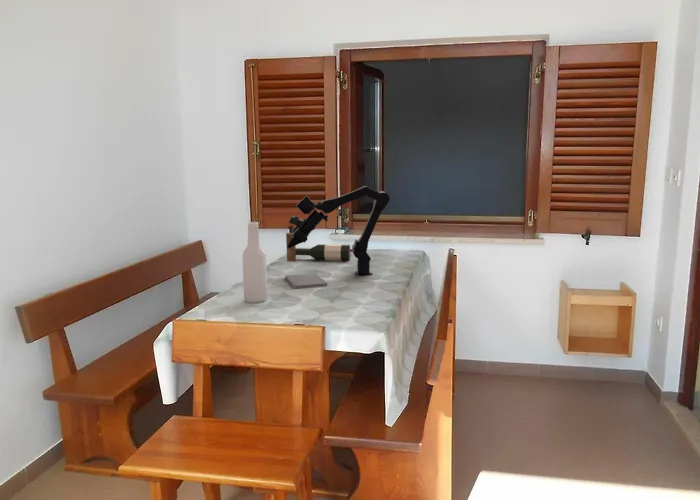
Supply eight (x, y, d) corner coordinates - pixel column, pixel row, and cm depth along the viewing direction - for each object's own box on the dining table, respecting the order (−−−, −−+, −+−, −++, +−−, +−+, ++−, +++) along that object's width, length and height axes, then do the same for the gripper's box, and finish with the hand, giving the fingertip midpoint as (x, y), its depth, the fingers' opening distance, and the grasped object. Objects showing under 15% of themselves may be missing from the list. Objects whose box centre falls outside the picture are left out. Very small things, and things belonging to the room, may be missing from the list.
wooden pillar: (295, 259, 261) (295, 232, 258) (295, 261, 257) (295, 234, 254) (287, 260, 260) (286, 232, 258) (287, 261, 256) (286, 234, 254)
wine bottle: (350, 241, 294) (292, 240, 297) (348, 250, 287) (289, 249, 290) (350, 255, 299) (294, 254, 302) (349, 264, 292) (291, 262, 295)
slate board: (327, 285, 240) (327, 283, 240) (294, 288, 236) (294, 285, 236) (315, 275, 259) (315, 273, 258) (285, 278, 255) (285, 275, 254)
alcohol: (245, 304, 213) (242, 224, 207) (243, 298, 221) (240, 221, 216) (268, 302, 215) (266, 223, 210) (265, 296, 224) (263, 220, 218)
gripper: (298, 207, 264) (275, 231, 265) (299, 211, 245) (274, 237, 246) (316, 223, 266) (293, 247, 267) (317, 229, 248) (292, 255, 249)
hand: (288, 246), depth 257 cm, fingers closed on wooden pillar, 4 cm apart
